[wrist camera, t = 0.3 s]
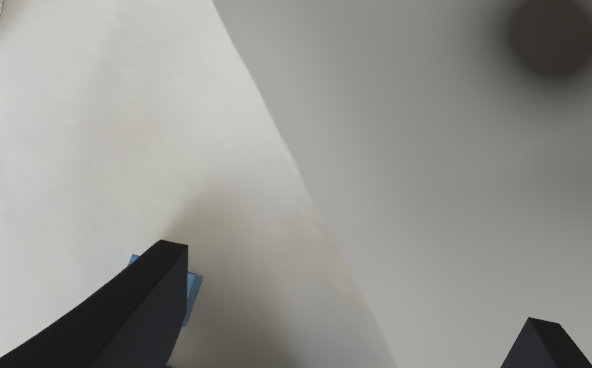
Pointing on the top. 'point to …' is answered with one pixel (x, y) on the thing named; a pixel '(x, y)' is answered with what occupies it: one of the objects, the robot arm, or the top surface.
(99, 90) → the top surface
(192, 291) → the block
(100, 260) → the top surface
